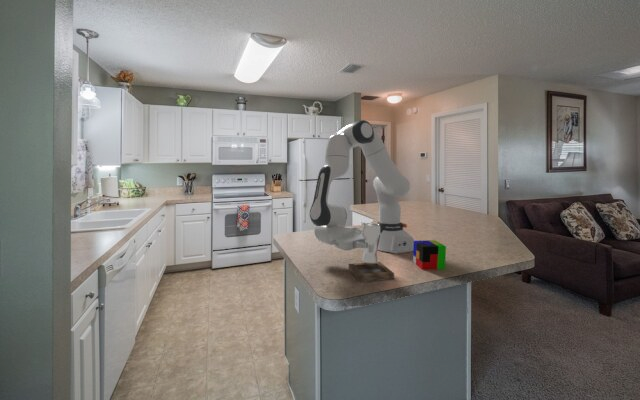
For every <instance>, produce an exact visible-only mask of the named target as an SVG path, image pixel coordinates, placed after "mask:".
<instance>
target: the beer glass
mask: <svg viewBox="0 0 640 400" xmlns="http://www.w3.org/2000/svg"><path fill="white" fill-rule="evenodd" d="M362 230H363V236H362V238H363V243H367V244H368V248H362V249H363V254H362V255H363V256H362V258H361V261H362V263H377V262H378V250H377V249H378V245H379V241H380V225H379V224H378V223H374V222H373V223H372V222H371V223H370V222H366V223H363V228H362Z"/></svg>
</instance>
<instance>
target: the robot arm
mask: <svg viewBox="0 0 640 400" xmlns="http://www.w3.org/2000/svg"><path fill="white" fill-rule="evenodd" d="M357 147H359V148H361V151H362V154H363V155H364V158H365V160H366V162H367V164H368V166H369V168H370V170H371V171H372V172H373V173H374V174H375V175H376V176H375V178H374V179H373V181H372V186H373V188H374V190H375V194H376V197H377V198H376V199H377V203H378V221H377V224H379V225H380V241H379V245H378V249H377V251H381V252H384V253H392V254H403V253H408V252H409V253H410V252H413V248H414V241H415V239H414V237H413V236H412V235H411V234H410V233H408V231H406V230H405V229H407V227H408V224H407V223H403V222H401V215H402V214H401V213H402V208H401V205H400V203H399V201H398V197H403V196H406V195H407V194H408V193H409V191H410V189H411V182H410V180H409V179H408V178H407V177H406V176H405V175H403V173H402V172H401V171H400V170H399V168H398V167H397V166H396V164H395V163H394V162H393V160H392V158H391V156H390V153H389V152H388V150H387V148H386V146H385V143H384V142H383V139H382V138H381V137H380V135H379V134H378V132H377V130H375V129H374V128H373V126H372V124H371V123H370V122H369V121H367V120H364V119H363V120H362V119H361V120H357V121H354V122H351V123H349V124H347V125H345V126H344V127H342V128H341V127H340V128H339V129H338V130H337V131H336V132H335V133H334V134H333V135H331V136H329V138H328V140H327V144H326V149H325V155H324V156H325V157H324V163H323V167H321V168H320V170H319V172H318V174H317V180H316V185H315V191H314V195H313V196H314V197H313V201H312V203H311V207H310V209H309V219H310V220H311V223H312V224H313V225H315V227H314V232H313V233H314V236H315V238H316V239H317V240H318V241H319V242H321V243H324V244H326V245H330V246H335V247H336V248H337V249H340V250H343V251H351V250H354V249H361V248H362V249H363V248H368V244H367V243H363V238H362V236H363V229H361V228H359V227H354V228H353V227H345V226H346V222H347V219H348V218H347V217H348V214H347V210H346V208H345V207H344V206H342V205H339V204H332V203H329V202H328V198H329V193H330V186H331V184H332V182H333V181H334V180H336V179H339V178H342V177H343V176H345V175H346V174H347V173H348V171H349V168H350V157H351V156H350V150H351V149H354V148H357ZM404 228H405V229H404Z"/></svg>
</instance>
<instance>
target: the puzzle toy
mask: <svg viewBox="0 0 640 400" xmlns="http://www.w3.org/2000/svg"><path fill="white" fill-rule="evenodd" d="M446 251H447V246H446V245H444V244H443V243H441V242H439V241H438V240H435V239H433V240H427V239H426V240H414V248H413V251H412V252H413V253H412V263H413V262H414V264H415V266H417V267H418V268H419V269H420V270H422V271H424V270H425V271H426V270H428V269H429V270H445V268H446V254H447V253H446Z"/></svg>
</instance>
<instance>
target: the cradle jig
mask: <svg viewBox="0 0 640 400" xmlns="http://www.w3.org/2000/svg"><path fill="white" fill-rule="evenodd" d="M348 270H349V272H350V273H351V274H352V275H353V276H354V277H355V279H356V280H357V281H358V282H359V283H362V282H363V283H364V282H377V281H378V282H379V281H387V280H388V281H391V280H394V279H395V272H393V271H392V270H391V269H390V268H388V267H387V266H385V265H384V264H383V263H382V262H381V261H377V263H365V262H357V263H354V262H353V263H348Z"/></svg>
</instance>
